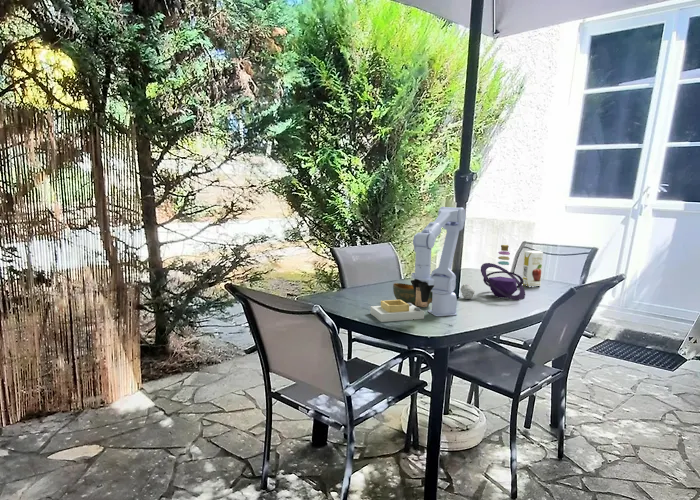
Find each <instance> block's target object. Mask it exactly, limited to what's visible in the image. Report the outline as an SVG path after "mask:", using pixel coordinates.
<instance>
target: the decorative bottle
mask: <svg viewBox="0 0 700 500" xmlns="http://www.w3.org/2000/svg"><path fill="white" fill-rule="evenodd" d="M500 247H501V248H500V250H501V251H498V254H499V255H502V256H498V257H497V259H498V260H500V261H498V262H497V264H498V265H497V264H496V263H490V262H485V263H482V265H481V266H480V273H481V275H482V278H483V282H484V284H485V285H486V286H488V287H489V288H490V290H491V292H492V294H493V295H494V297H496V298H499V297H500V299H501V298H502V299H507V298H508V299H511V300H515V301H520V300H519V299H522V300H523V299H525V297H526V291H525V288H524V286H523V285H522V284H523V279H522V276H520V275H519V274H517V273H514V272H510V271H508V270H507V269H506V268H504V267H502V266H509V265H510V262H509V260H510V257H509V255H510V254H511V253H510V251H509V245H508V244H501V245H500ZM500 265H502V266H500ZM489 268H493V269H494V268H495V269H498V270H499V271H492V272H490V273H487V270H488V269H489ZM495 274H507V275H508V276H509V277H507V276H494V275H495ZM491 275H492V277H489V276H491ZM518 279H519V280H518ZM518 288H519V293H518V294H517V295H515V292H517V291H518Z"/></svg>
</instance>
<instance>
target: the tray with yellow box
mask: <svg viewBox="0 0 700 500" xmlns="http://www.w3.org/2000/svg"><path fill="white" fill-rule="evenodd" d="M370 314H371V316H373V317H374V318H376V319H377V321H379V322H381V323H383V322H385V323H386V322H396V321H411V320H412V321H413V319H414V320H423V319H425V310H423V309H421V308H419V307H416V306H414V305H412V303H405V302H404V301H402V300H397V299H389V300H380V305H376V306H375V305H371V306H370Z"/></svg>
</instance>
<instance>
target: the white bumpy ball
mask: <svg viewBox="0 0 700 500" xmlns="http://www.w3.org/2000/svg"><path fill="white" fill-rule="evenodd" d="M460 292H461V295H462V297H463V299H466V300H470V299H472V298H473V296H475V289H474V288H473V286H472V285H470V284H468V283H464V284H462V285H461V286H460Z"/></svg>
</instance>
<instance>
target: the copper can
mask: <svg viewBox="0 0 700 500" xmlns="http://www.w3.org/2000/svg"><path fill="white" fill-rule="evenodd" d="M415 305H416V306H419V307H424V308H427V307H426V306H427V302H422V301H421V291H420V287H419V286H416V303H415ZM419 307H418V308H419Z"/></svg>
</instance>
